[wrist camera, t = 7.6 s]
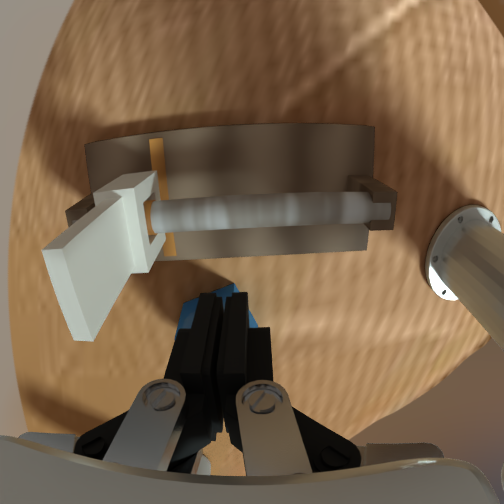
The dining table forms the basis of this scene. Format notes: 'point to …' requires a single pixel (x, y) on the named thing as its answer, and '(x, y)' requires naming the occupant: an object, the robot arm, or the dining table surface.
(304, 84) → the dining table surface
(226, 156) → the pipe stand
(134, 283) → the dining table surface
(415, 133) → the dining table surface
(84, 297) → the white l-shaped bracket
